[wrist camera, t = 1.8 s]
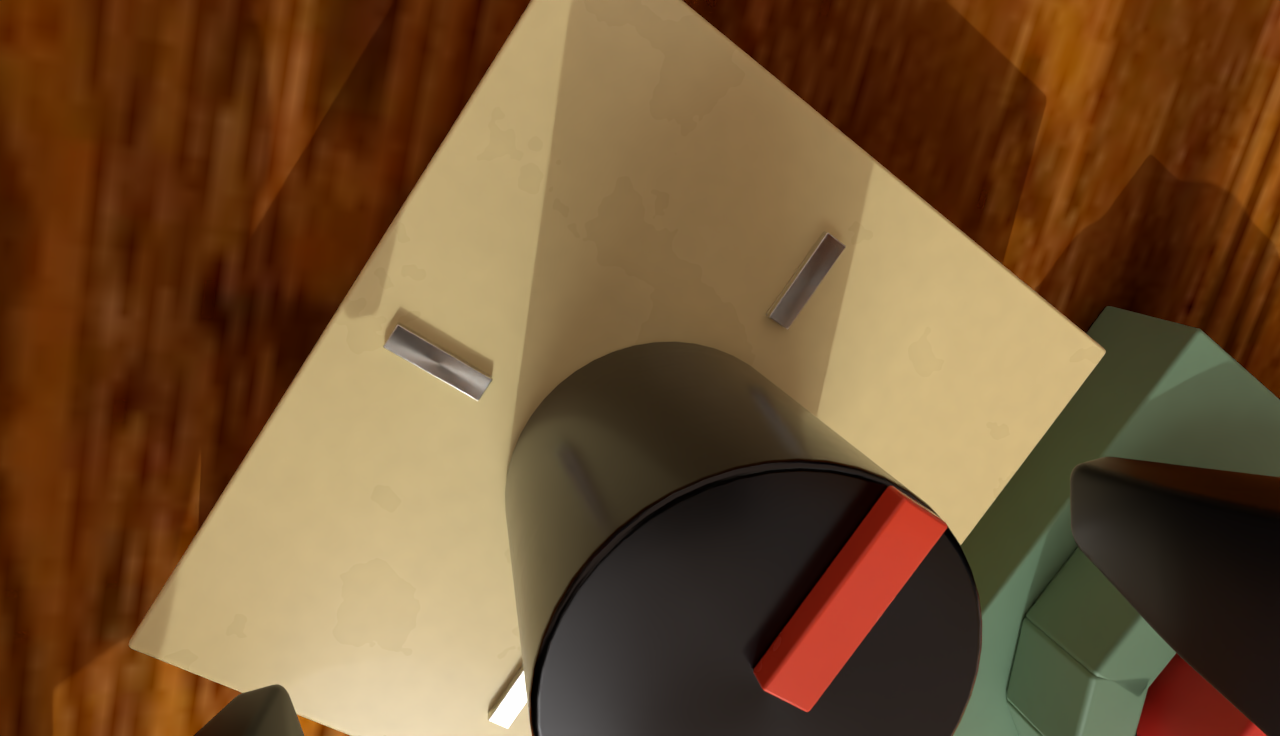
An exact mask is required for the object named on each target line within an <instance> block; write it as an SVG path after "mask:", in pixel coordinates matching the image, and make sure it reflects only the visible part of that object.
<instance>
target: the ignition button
mask: <svg viewBox="0 0 1280 736" xmlns="http://www.w3.org/2000/svg"><path fill="white" fill-rule="evenodd" d="M1136 736H1267V735H1265V734H1264V733H1263V732H1262V731H1261V730H1260V729H1259V728H1258V727H1257V726H1256V725H1255V724H1253V723H1252V722H1251V721H1250V720H1249V719H1248V718H1247V717H1246V716H1245V715H1244V714H1242V713H1241V712H1240V711H1239V710H1238V709H1237V708H1236V707H1235V706H1234V705H1233V704H1232V703H1230V702H1229V701H1228V700H1227V699H1226V698H1225V697H1224V696H1223V695H1222V694H1221V693H1219V692H1218V691H1217V690H1216V689H1215V688H1214V687H1213V686H1212V685H1211V684H1210V683H1208V682H1207V681H1206V680H1205V679H1204V678H1203V677H1202V676H1201V675H1200V674H1199V673H1198V672H1196V671H1195V670H1194V669H1193V668H1192V667H1191V666H1190V665H1189V664H1188V663H1187V662H1186V661H1185V660H1183V659H1182V658H1181V657H1180V656H1179V655H1178V654H1177V653H1176V654H1175V655H1174V657H1173V658H1172V659H1171V660H1170V662H1169V663H1168V664H1167V665H1166V667H1165V668H1164V669H1163V670H1162V672H1161V673H1160V674H1159V675H1158V676H1157V678H1156V679H1155V680H1154V681H1153V683H1152V684H1151V685H1150V686H1149V688H1148V691H1147V695H1146V698H1145V702H1144V705H1143V709H1142V713H1141V716H1140V720H1139V724H1138V727H1137V731H1136Z"/></svg>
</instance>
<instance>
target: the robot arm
mask: <svg viewBox="0 0 1280 736" xmlns="http://www.w3.org/2000/svg"><path fill="white" fill-rule="evenodd" d="M1070 511H1071V531H1072V535H1073V537H1074V540H1075V542H1076V544H1077V545H1078V547H1079V548H1080V550H1081V551H1082V552H1083V553H1084V554H1085V555H1086V556H1087V557H1088V558H1089V560H1090V561H1091V562H1092V563H1093V564H1094V565H1095V566H1096V567H1097V568H1098V569H1099V570H1100V572H1101V573H1102V574H1103V575H1104V576H1105V577H1106V578H1107V579H1108V580H1109V581H1110V582H1111V584H1112V585H1113V586H1114V587H1115V588H1116V589H1117V590H1118V591H1119V592H1120V593H1121V594H1122V596H1123V597H1124V598H1125V599H1126V600H1127V601H1128V602H1129V603H1130V604H1131V605H1132V606H1133V608H1134V609H1135V610H1136V611H1137V612H1138V613H1139V614H1140V615H1141V616H1142V617H1143V618H1144V620H1145V621H1146V622H1147V623H1148V624H1149V625H1150V626H1151V627H1152V628H1153V629H1154V630H1155V631H1156V633H1157V634H1158V635H1159V636H1160V637H1161V638H1162V639H1163V640H1164V641H1165V642H1166V643H1167V644H1168V645H1169V646H1170V647H1171V648H1172V649H1173V650H1174V651H1175V652H1176V653H1177V654H1178V655H1179V656H1180V657H1181V658H1182V659H1183V660H1185V661H1186V662H1187V663H1188V664H1189V665H1190V666H1191V667H1192V668H1193V669H1194V670H1195V671H1196V672H1198V673H1199V674H1200V675H1201V676H1202V677H1203V678H1204V679H1205V680H1206V681H1207V682H1208V683H1210V684H1211V685H1212V686H1213V687H1214V688H1215V689H1216V690H1217V691H1218V692H1219V693H1221V694H1222V695H1223V696H1224V697H1225V698H1226V699H1227V700H1228V701H1229V702H1230V703H1232V704H1233V705H1234V706H1235V707H1236V708H1237V709H1238V710H1239V711H1240V712H1241V713H1242V714H1244V715H1245V716H1246V717H1247V718H1248V719H1249V720H1250V721H1251V722H1252V723H1253V724H1255V725H1256V726H1257V727H1258V728H1259V729H1260V730H1261V731H1262V732H1263V733H1264V734H1265V735H1267V736H1280V477H1274V476H1266V475H1258V474H1250V473H1241V472H1233V471H1225V470H1217V469H1209V468H1201V467H1192V466H1184V465H1176V464H1168V463H1160V462H1152V461H1144V460H1135V459H1127V458H1119V457H1102V458H1098V459H1094V460H1091V461H1087V462H1084V463H1080V464H1078V465H1076V466H1075V467H1074V469H1073V470H1072V472H1071V475H1070ZM194 736H304V734H303V731H302V728H301V725H300V723H299V720H298V717H297V714H296V712H295V709H294V706H293V704H292V701H291V698H290V696H289V693H288V692H287V690H286V689H285V688H284V687H283V686H281V685H279V684H275V685H270V686H266V687H263V688H259V689H255V690H252V691H248V692H245V693H242V694H240V695H238V696H237V697H235V698H234V699H233V700H232V701H231V702H230V703H229V704H228V705H227V706H225V707H224V708H223V709H222V710H221V711H220V712H219V713H218V714H217V715H216V716H215V717H213V718H212V719H211V720H210V721H209V722H208V723H207V724H206V725H205V726H204V727H203V728H201V729H200V730H199V731H198V732H197V733H196V734H195V735H194Z"/></svg>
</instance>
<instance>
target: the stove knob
mask: <svg viewBox="0 0 1280 736" xmlns="http://www.w3.org/2000/svg"><path fill="white" fill-rule="evenodd" d="M505 512H506V520H507V529H508V538H509V547H510V555H511V564H512V573H513V581H514V590H515V599H516V608H517V616H518V625H519V634H520V643H521V651H522V660H523V669H524V678H525V686H526V695H527V704H528V712H529V721H530V727H531V733H532V736H953V734H954V733H955V731H956V729H957V727H958V725H959V724H960V722H961V720H962V717H963V715H964V712H965V710H966V707H967V705H968V703H969V700H970V698H971V695H972V691H973V688H974V684H975V681H976V677H977V673H978V669H979V662H980V655H981V649H982V615H981V607H980V599H979V594H978V590H977V587H976V583H975V580H974V576H973V573H972V570H971V567H970V565H969V562H968V560H967V558H966V556H965V554H964V552H963V549H962V547H961V545H960V543H959V542H958V540H957V539H956V537H955V536H954V534H953V533H952V531H951V530H950V528H949V527H948V525H947V524H946V522H945V521H943V520H942V519H941V518H940V516H939V515H938V514H937V513H936V512H935V511H934V510H933V509H932V508H931V507H930V506H929V505H928V504H927V503H926V502H924V501H923V500H922V499H920V498H919V497H918V496H917V495H915V494H914V493H913V492H912V491H910V490H909V489H908V488H906V487H905V486H904V485H903V484H901V483H900V482H899V481H897V480H896V479H895V478H894V477H892V476H891V475H890V474H888V473H887V472H886V471H885V470H883V469H882V468H881V467H879V466H878V465H877V464H876V463H874V462H873V461H872V460H871V459H869V458H868V457H867V456H865V455H864V454H863V453H862V452H860V451H859V450H858V449H856V448H855V447H854V446H853V445H851V444H850V443H849V442H847V441H846V440H845V439H844V438H842V437H841V436H840V435H838V434H837V433H836V432H835V431H833V430H832V429H831V428H830V427H828V426H827V425H826V424H824V423H823V422H822V421H821V420H819V419H818V418H817V417H815V416H814V415H813V414H812V413H810V412H809V411H808V410H806V409H805V408H804V407H803V406H801V405H800V404H799V403H798V402H796V401H795V400H794V399H792V398H791V397H790V396H789V395H787V394H786V393H785V392H783V391H782V390H781V389H780V388H778V387H777V386H776V385H774V384H773V383H772V382H771V381H769V380H768V379H767V378H765V377H764V376H763V375H762V374H760V373H759V372H758V371H756V370H755V369H754V368H753V367H751V366H750V365H749V364H747V363H745V362H743V361H742V360H740V359H738V358H736V357H735V356H733V355H730V354H728V353H725V352H723V351H720V350H718V349H715V348H711V347H707V346H703V345H699V344H694V343H684V342H653V343H647V344H641V345H634V346H631V347H627V348H624V349H621V350H617V351H614V352H611V353H609V354H607V355H605V356H602V357H600V358H598V359H596V360H593V361H592V362H590V363H588V364H587V365H585V366H583V367H582V368H580V369H578V370H577V371H575V372H574V373H573V374H571V375H570V376H569V377H567V378H566V379H565V380H564V381H562V382H561V383H560V384H558V385H557V386H556V387H555V388H554V389H553V390H552V392H551V393H550V394H549V395H548V396H547V397H546V398H545V399H544V400H543V401H542V402H541V403H540V405H539V406H538V407H537V409H536V410H535V411H534V413H533V414H532V415H531V417H530V418H529V420H528V422H527V423H526V425H525V427H524V429H523V430H522V432H521V434H520V436H519V438H518V441H517V443H516V446H515V448H514V451H513V453H512V457H511V460H510V464H509V468H508V472H507V479H506V488H505Z"/></svg>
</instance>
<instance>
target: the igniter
mask: <svg viewBox="0 0 1280 736" xmlns="http://www.w3.org/2000/svg"><path fill="white" fill-rule="evenodd" d="M1086 334H1087V335H1089V336H1090V337H1091V338H1092V339H1094V340H1095V341H1096V342H1097V343H1098V344H1100V345H1101V346H1102V347H1103V348H1104V349H1105V350H1106V353H1105V355H1104V356H1103V357H1102V359H1101V360H1100V361H1099V363H1098V364H1097V365H1096V367H1095V368H1094V369H1093V371H1092V372H1091V373H1090V375H1089V376H1088V377H1087V379H1086V380H1085V381H1084V383H1083V384H1082V385H1081V387H1080V388H1079V389H1078V391H1077V392H1076V393H1075V395H1074V396H1073V397H1072V398H1071V400H1070V401H1069V402H1068V404H1067V405H1066V406H1065V408H1064V409H1063V410H1062V412H1061V413H1060V414H1059V416H1058V417H1057V418H1056V420H1055V421H1054V422H1053V424H1052V425H1051V426H1050V428H1049V429H1048V430H1047V432H1046V433H1045V434H1044V436H1043V437H1042V438H1041V440H1040V441H1039V442H1038V444H1037V445H1036V446H1035V448H1034V449H1033V450H1032V452H1031V453H1030V454H1029V456H1028V457H1027V458H1026V459H1025V461H1024V462H1023V463H1022V465H1021V466H1020V467H1019V469H1018V470H1017V471H1016V473H1015V474H1014V475H1013V477H1012V478H1011V479H1010V481H1009V482H1008V483H1007V485H1006V486H1005V487H1004V489H1003V490H1002V491H1001V493H1000V494H999V495H998V497H997V498H996V499H995V501H994V502H993V503H992V505H991V506H990V507H989V509H988V510H987V511H986V513H985V514H984V515H983V516H982V518H981V519H980V520H979V522H978V523H977V524H976V526H975V527H974V528H973V530H972V531H971V532H970V534H969V535H968V536H967V538H966V539H965V540H964V542H963V543H962V544H961V547H962V549H963V552H964V554H965V556H966V558H967V560H968V562H969V565H970V567H971V570H972V573H973V576H974V580H975V583H976V587H977V590H978V594H979V599H980V607H981V615H982V649H981V655H980V662H979V669H978V673H977V677H976V681H975V684H974V688H973V691H972V695H971V698H970V700H969V703H968V705H967V707H966V710H965V712H964V715H963V717H962V720H961V722H960V724H959V725H958V727H957V729H956V731H955V733H954V734H953V736H1136V731H1137V727H1138V724H1139V720H1140V716H1141V713H1142V709H1143V705H1144V702H1145V698H1146V695H1147V691H1148V688H1149V686H1150V685H1151V684H1152V683H1153V681H1154V680H1155V679H1156V678H1157V676H1158V675H1159V674H1160V673H1161V672H1162V670H1163V669H1164V668H1165V667H1166V665H1167V664H1168V663H1169V662H1170V660H1171V659H1172V658H1173V657H1174V655H1175V654H1176V652H1175V651H1174V650H1173V649H1172V648H1171V647H1170V646H1169V645H1168V644H1167V643H1166V642H1165V641H1164V640H1163V639H1162V638H1161V637H1160V636H1159V635H1158V634H1157V633H1156V631H1155V630H1154V629H1153V628H1152V627H1151V626H1150V625H1149V624H1148V623H1147V622H1146V621H1145V620H1144V618H1143V617H1142V616H1141V615H1140V614H1139V613H1138V612H1137V611H1136V610H1135V609H1134V608H1133V606H1132V605H1131V604H1130V603H1129V602H1128V601H1127V600H1126V599H1125V598H1124V597H1123V596H1122V594H1121V593H1120V592H1119V591H1118V590H1117V589H1116V588H1115V587H1114V586H1113V585H1112V584H1111V582H1110V581H1109V580H1108V579H1107V578H1106V577H1105V576H1104V575H1103V574H1102V573H1101V572H1100V570H1099V569H1098V568H1097V567H1096V566H1095V565H1094V564H1093V563H1092V562H1091V561H1090V560H1089V558H1088V557H1087V556H1086V555H1085V554H1084V553H1083V552H1082V551H1081V550H1080V548H1079V547H1078V545H1077V544H1076V542H1075V540H1074V537H1073V535H1072V531H1071V511H1070V475H1071V472H1072V470H1073V469H1074V467H1075V466H1076V465H1078V464H1080V463H1084V462H1087V461H1091V460H1094V459H1098V458H1102V457H1119V458H1127V459H1135V460H1144V461H1152V462H1160V463H1168V464H1176V465H1184V466H1192V467H1201V468H1209V469H1217V470H1225V471H1233V472H1241V473H1250V474H1258V475H1266V476H1274V477H1280V399H1278V398H1277V397H1276V396H1275V395H1274V394H1273V393H1272V392H1271V391H1270V390H1268V389H1267V388H1266V387H1265V386H1264V385H1263V384H1262V383H1261V382H1259V381H1258V380H1257V379H1256V378H1255V377H1254V376H1253V375H1252V374H1250V373H1249V372H1248V371H1247V370H1246V369H1245V368H1244V367H1243V366H1241V365H1240V364H1239V363H1238V362H1237V361H1236V360H1235V359H1234V358H1232V357H1231V356H1230V355H1229V354H1228V353H1227V352H1226V351H1225V350H1223V349H1222V348H1221V347H1220V346H1219V345H1218V344H1217V343H1216V342H1214V341H1213V340H1212V339H1211V338H1210V337H1209V336H1208V335H1207V334H1205V333H1204V332H1203V331H1202V330H1201V329H1199V328H1195V327H1191V326H1187V325H1183V324H1179V323H1175V322H1171V321H1167V320H1163V319H1159V318H1155V317H1151V316H1147V315H1144V314H1140V313H1136V312H1132V311H1128V310H1124V309H1120V308H1116V307H1112V306H1107V307H1105V309H1104V310H1103V311H1102V313H1101V314H1100V315H1099V317H1098V318H1097V319H1096V321H1095V322H1094V323H1093V325H1092V326H1091V327H1090V329H1089V330H1088V331H1087V333H1086Z"/></svg>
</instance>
